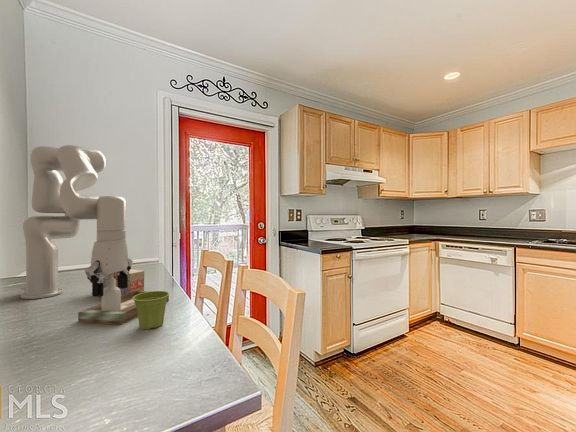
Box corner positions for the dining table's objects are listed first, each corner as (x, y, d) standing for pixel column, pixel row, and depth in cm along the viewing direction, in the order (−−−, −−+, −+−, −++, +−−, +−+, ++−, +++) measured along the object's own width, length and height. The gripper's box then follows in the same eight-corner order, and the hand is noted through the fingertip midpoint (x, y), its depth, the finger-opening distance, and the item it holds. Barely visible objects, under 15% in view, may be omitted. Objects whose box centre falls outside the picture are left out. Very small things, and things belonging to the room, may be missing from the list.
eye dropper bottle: (116, 310, 89) (116, 272, 90) (121, 314, 86) (121, 275, 86) (100, 313, 86) (100, 274, 86) (105, 318, 82) (105, 277, 82)
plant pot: (155, 333, 74) (155, 300, 74) (124, 330, 76) (124, 298, 76) (175, 320, 83) (175, 291, 84) (148, 318, 85) (148, 290, 85)
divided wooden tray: (78, 322, 82) (78, 311, 82) (134, 298, 106) (134, 290, 106) (120, 324, 80) (120, 314, 80) (168, 300, 104) (168, 292, 104)
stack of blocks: (144, 294, 109) (144, 262, 109) (129, 298, 103) (129, 265, 103) (110, 288, 118) (110, 259, 118) (94, 292, 112) (94, 261, 112)
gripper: (121, 234, 95) (120, 284, 95) (75, 238, 78) (74, 299, 78) (141, 234, 94) (140, 285, 94) (99, 239, 77) (98, 301, 77)
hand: (110, 291), depth 86 cm, fingers open, 9 cm apart
